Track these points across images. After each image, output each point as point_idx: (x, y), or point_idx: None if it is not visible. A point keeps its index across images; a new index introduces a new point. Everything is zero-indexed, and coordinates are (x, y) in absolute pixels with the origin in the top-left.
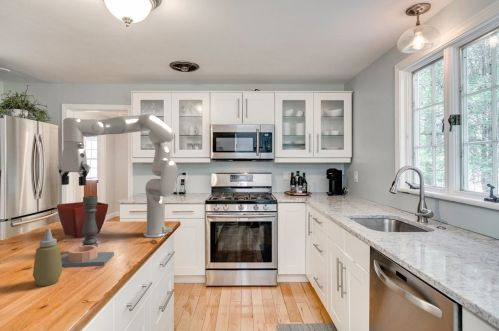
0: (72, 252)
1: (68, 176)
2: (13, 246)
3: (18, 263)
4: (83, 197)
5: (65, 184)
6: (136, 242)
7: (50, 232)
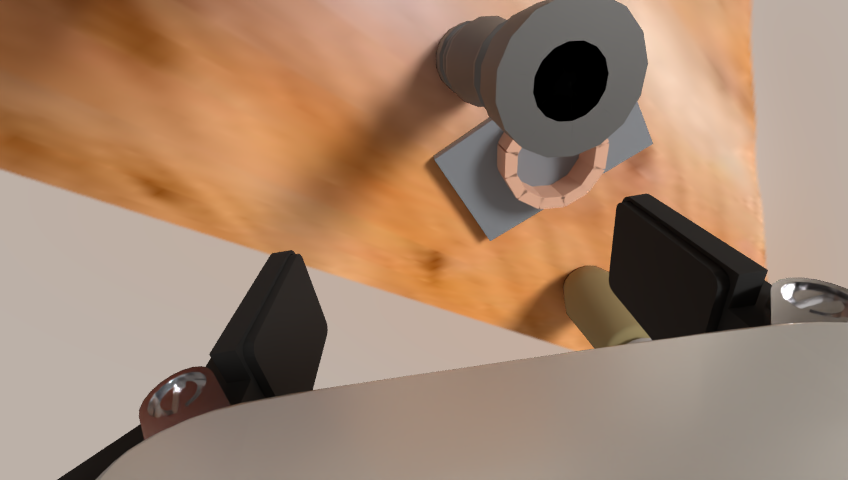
0: (553, 205)
1: (256, 347)
2: (103, 176)
3: (365, 255)
4: (537, 153)
5: (317, 298)
6: None
7: None
